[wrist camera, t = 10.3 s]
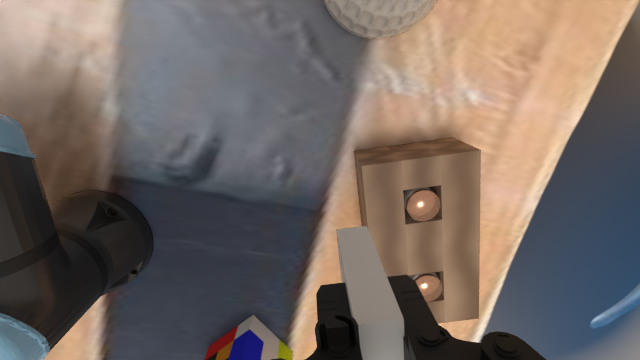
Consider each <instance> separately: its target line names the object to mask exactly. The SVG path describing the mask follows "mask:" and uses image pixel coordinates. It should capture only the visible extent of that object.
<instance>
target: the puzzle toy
mask: <svg viewBox="0 0 640 360" xmlns="http://www.w3.org/2000/svg"><path fill="white" fill-rule="evenodd" d="M292 353H293V352H292V351H291V350H290V349H289V348H288V347H287V346H286V345H285V344H284V343H283V342H282V341H281V340H280V339H278V338H277V337H276V336H275V335H274V334H273V333H272V332H271V331H270V330H269V329H268V328H267V327H266V326H265V325H264V324H263V323H261V322H260V321H259V320H258V319H257V318H256V317H255V316H254V315H252V316H251V317H249V318H248V319H247V320H245V321H244V322H242V323H241V324H240V325H238V326H237V327H235V328H234V329H233V330H231V331H230V332H228V333H227V334H226V335H224V336H223V337H221V338H220V339H219V340H217V341H216V342H214V343H213V344H212V345H210V346H209V349H208V351H207V354H206V357H205V359H204V360H271V359H277V358H282V359H285V360H292Z"/></svg>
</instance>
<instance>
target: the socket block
mask: <svg viewBox="0 0 640 360" xmlns="http://www.w3.org/2000/svg"><path fill="white" fill-rule="evenodd" d="M354 156H355V166H356V175H357V184H358V194H359V203H360V213H361V222H362V226H367V228H368V231H369V233H370V236H371V238H372V241H373V243H374V246H375V248H376V251H377V253H378V256H379V258H380V261H381V263H382V266H383V268H384V271H385V273H386V276H387V277H390V276H398V275H408V276H409V275H415V274H423V273H431V272H435V273H436V275H437V277H438V278H439V280H440V282H441V283H442V292H441V294H440V296H439V297H438V298H437V299H435V300H433V301H430V302H427V304H428V306H429V308H430V310H431V312H432V314H433V316H434V318H435V320H436V321H437V323H445V322H453V321H461V320H469V319H478V318H479V253H480V166H481V150H479V149H477V148H475V147H473V146H471V145H468V144H466V143H464V142H462V141H460V140H457V139H455V138H448V139H440V140H433V141H426V142H418V143H411V144H403V145H396V146H389V147H381V148H374V149H366V150H359V151H354ZM424 187H429V188H430V189H431V190H432V191H433V192H434V193H435V194H436V195H437V196H438V198H439V200H440V209H439V211H438V213H437V214H436V215H435V216H434V217H433V218H432V219H430V220H427V221H417V220H415V219H413V218H412V217H411V216H410V215H409V213H408V212H407V210H406V209H405V207H404V194H403V190H408V189H416V188H424Z"/></svg>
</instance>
